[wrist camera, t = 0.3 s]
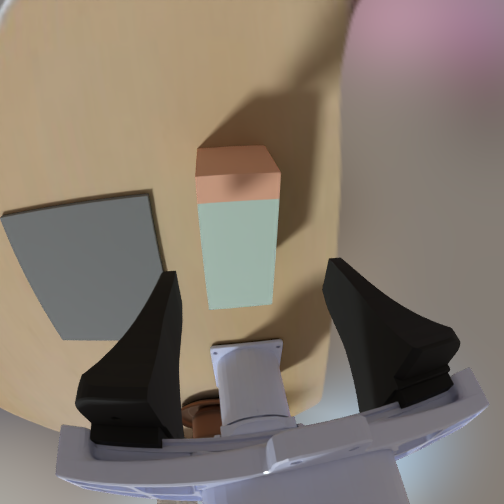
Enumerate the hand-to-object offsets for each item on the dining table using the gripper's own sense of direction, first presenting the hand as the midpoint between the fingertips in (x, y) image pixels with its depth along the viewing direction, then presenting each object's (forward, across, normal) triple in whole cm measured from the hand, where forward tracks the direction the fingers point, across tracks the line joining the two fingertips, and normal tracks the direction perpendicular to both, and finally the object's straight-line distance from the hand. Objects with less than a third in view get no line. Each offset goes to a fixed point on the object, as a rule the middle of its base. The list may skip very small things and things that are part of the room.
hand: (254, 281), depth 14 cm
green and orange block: (+9, 0, +1) cm, 10 cm away
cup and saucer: (+10, +4, +35) cm, 37 cm away
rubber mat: (+9, +13, +8) cm, 18 cm away
